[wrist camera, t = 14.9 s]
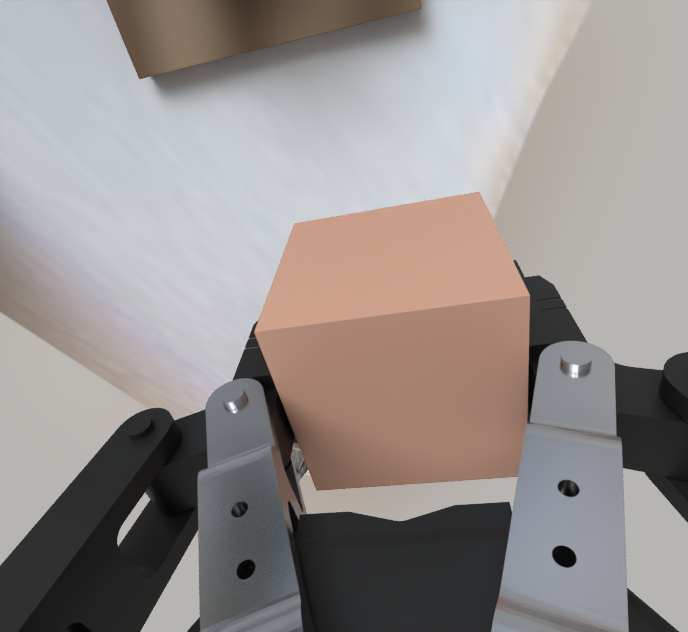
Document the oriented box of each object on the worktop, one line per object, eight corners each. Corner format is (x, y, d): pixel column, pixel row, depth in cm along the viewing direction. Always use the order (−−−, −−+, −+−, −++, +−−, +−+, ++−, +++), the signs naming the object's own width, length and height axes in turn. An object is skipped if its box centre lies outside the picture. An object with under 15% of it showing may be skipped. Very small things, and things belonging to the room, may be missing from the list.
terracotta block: (333, 359, 16) (316, 490, 12) (294, 223, 13) (254, 331, 9) (486, 342, 15) (526, 475, 11) (479, 191, 12) (529, 295, 8)
